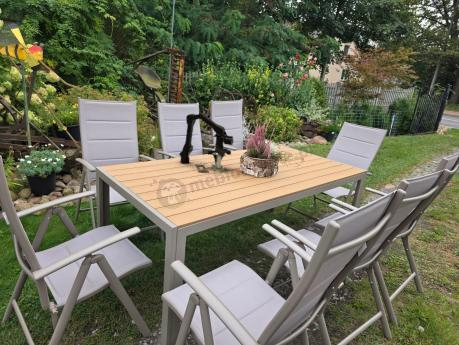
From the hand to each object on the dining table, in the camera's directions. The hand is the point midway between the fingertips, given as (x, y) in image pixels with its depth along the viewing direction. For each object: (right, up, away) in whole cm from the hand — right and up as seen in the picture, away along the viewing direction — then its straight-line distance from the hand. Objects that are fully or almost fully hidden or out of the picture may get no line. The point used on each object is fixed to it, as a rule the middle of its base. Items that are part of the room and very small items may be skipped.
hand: (217, 162), depth 231 cm
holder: (0, -5, +1) cm, 5 cm away
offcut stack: (-10, -8, -10) cm, 16 cm away
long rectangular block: (0, -3, +1) cm, 3 cm away
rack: (-13, -5, -3) cm, 14 cm away
